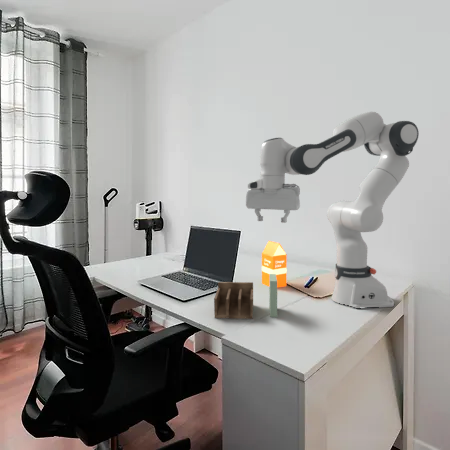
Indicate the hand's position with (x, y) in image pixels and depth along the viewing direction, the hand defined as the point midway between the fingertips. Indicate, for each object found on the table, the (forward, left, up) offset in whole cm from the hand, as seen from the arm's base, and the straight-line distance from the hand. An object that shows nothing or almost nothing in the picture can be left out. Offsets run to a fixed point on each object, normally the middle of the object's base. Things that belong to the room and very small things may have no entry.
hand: (271, 221), depth 121 cm
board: (0, +5, -33) cm, 33 cm away
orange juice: (-2, -27, -33) cm, 43 cm away
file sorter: (+14, +5, -33) cm, 36 cm away
